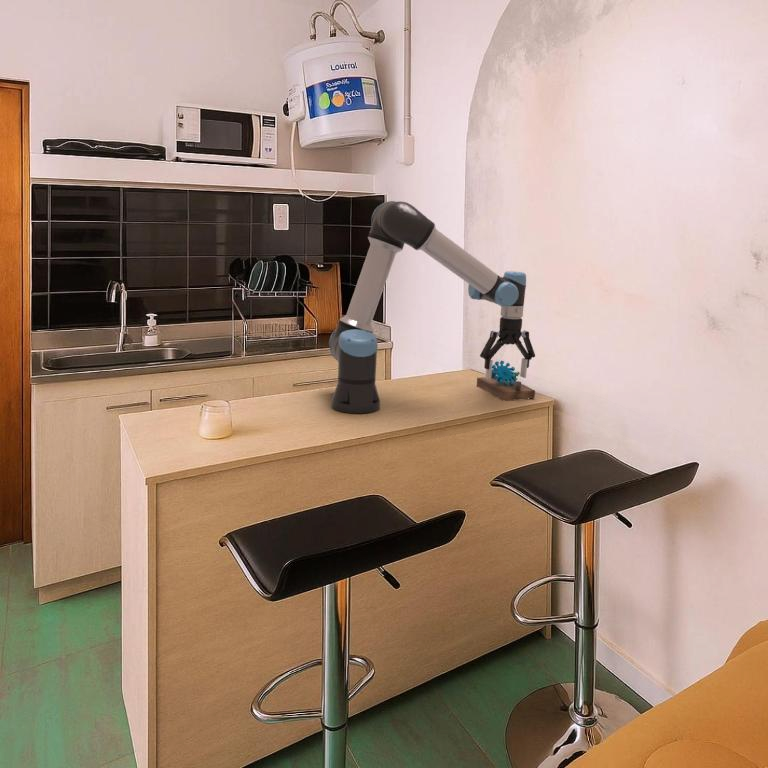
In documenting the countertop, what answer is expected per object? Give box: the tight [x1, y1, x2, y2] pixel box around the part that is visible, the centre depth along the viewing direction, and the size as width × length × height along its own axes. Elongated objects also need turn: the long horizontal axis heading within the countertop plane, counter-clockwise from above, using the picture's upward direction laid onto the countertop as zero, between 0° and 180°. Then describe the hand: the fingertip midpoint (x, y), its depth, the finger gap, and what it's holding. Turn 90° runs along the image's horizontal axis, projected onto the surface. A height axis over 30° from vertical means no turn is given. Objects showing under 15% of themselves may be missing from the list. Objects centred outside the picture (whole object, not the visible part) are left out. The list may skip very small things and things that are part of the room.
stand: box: [476, 369, 536, 401], centre depth 236 cm, size 12×20×6 cm, turn 18°
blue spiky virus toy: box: [492, 359, 520, 386], centre depth 236 cm, size 11×6×10 cm
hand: (505, 377), depth 235 cm, fingers open, 13 cm apart
